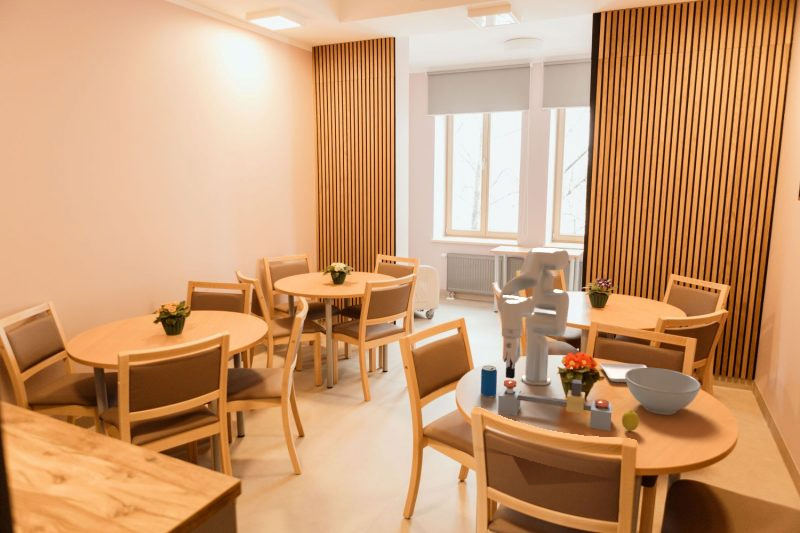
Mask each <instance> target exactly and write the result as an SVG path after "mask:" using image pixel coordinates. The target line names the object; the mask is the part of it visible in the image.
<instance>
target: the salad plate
mask: <svg viewBox="0 0 800 533" xmlns="http://www.w3.org/2000/svg"><path fill="white" fill-rule="evenodd" d="M598 365H599V367H600V368H601V369H602V370H603V372H604V373H605V374H606V376H607V377H608V379H609V380H610V381H611V382H615V383H619V382H626V379H625V374H626V372H628V371H629V370H632V369H636V368H648V367H647V365H645V364H642V363H641V364H640V363H639V364H638V363H625V362H624V363H621V362H619V363H618V362H616V363H615V362H599V363H598Z"/></svg>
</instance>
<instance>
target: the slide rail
mask: <svg viewBox="0 0 800 533" xmlns="http://www.w3.org/2000/svg"><path fill="white" fill-rule="evenodd" d="M506 392H507V387H505V386H503V387H502V389H501V391H500V393H499V394H498V403H497V407H498V408H497V413H498V414H499V413H500V414H505V415H511V416H517V414H518V413H519V410H520V408H521V401H522V402H529V403H535V404H542V405H549V406H556V407H562V408H566V407H567V399H563V398H562V399H561V398H556V397H550V396H544V395H543V396H542V395H538V394H537V395H536V394H530V393H525V392H523V393H522V389H518V388H513V395H509V394H506ZM591 401H592V402H591V403H590V402H585V403H584V410H583V411H587V412H590V416H589V417H590V418H589V420H590V422H589V429H596V430H601V431H609V432H611V424H612V412H613V403H611V402H609V407H608V408H605V409H601V408H598V407H597V406H595V400H593V399H592V400H591Z"/></svg>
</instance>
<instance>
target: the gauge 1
mask: <svg viewBox="0 0 800 533" xmlns="http://www.w3.org/2000/svg"><path fill="white" fill-rule="evenodd" d="M503 387H505V388H507V392H506V394H509V395H513V389H515V388H516V387H517V381H516V380H513V379H505V380H503Z"/></svg>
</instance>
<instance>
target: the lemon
mask: <svg viewBox="0 0 800 533" xmlns="http://www.w3.org/2000/svg"><path fill="white" fill-rule="evenodd" d="M621 418H622V420H621V422H622V426H623V428H624V429H626V430H627V431H628V432H631V431H632V432H633V431H634V430H636V429H637V428H638V427H639V422H640V420H639V416H638V414H637V413H636V412H635V411H633V410H632V409H630V410H627V411H625V412H624V413H623V415H622V417H621Z"/></svg>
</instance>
